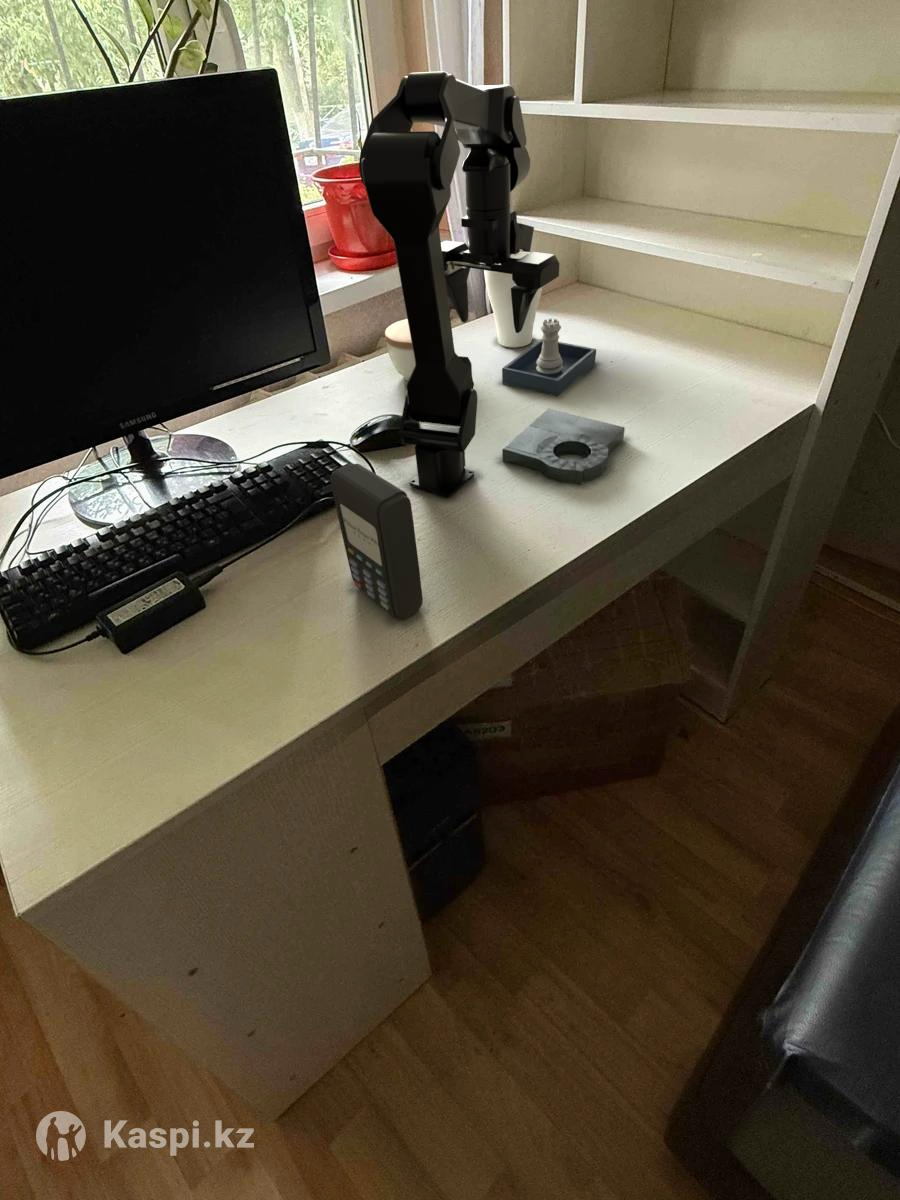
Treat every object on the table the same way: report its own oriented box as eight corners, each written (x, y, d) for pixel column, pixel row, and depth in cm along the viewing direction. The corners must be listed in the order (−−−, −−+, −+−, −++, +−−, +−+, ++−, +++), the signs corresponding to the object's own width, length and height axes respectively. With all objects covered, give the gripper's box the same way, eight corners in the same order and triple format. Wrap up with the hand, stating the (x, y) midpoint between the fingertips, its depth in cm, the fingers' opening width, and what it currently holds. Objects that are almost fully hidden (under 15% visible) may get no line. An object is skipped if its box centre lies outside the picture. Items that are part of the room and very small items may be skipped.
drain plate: (587, 490, 88) (588, 477, 86) (499, 464, 94) (499, 451, 92) (631, 442, 96) (633, 429, 94) (548, 420, 102) (548, 408, 100)
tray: (557, 396, 107) (558, 380, 105) (502, 383, 112) (501, 368, 110) (595, 364, 115) (596, 348, 113) (541, 353, 119) (542, 338, 118)
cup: (474, 342, 124) (470, 264, 115) (514, 325, 129) (513, 248, 120) (515, 358, 118) (515, 276, 109) (556, 339, 123) (559, 259, 114)
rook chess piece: (561, 376, 111) (564, 327, 105) (534, 376, 112) (535, 327, 106) (564, 364, 114) (566, 316, 108) (537, 364, 115) (538, 316, 109)
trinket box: (381, 386, 114) (373, 330, 107) (403, 359, 121) (396, 305, 115) (442, 391, 111) (437, 334, 105) (461, 363, 118) (457, 308, 112)
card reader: (347, 586, 77) (321, 472, 67) (376, 569, 79) (355, 456, 69) (397, 626, 72) (378, 509, 62) (427, 607, 74) (412, 491, 63)
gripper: (582, 196, 89) (575, 318, 99) (463, 186, 98) (468, 299, 108) (539, 218, 82) (536, 345, 93) (416, 205, 91) (427, 323, 102)
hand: (491, 326), depth 99 cm, fingers open, 9 cm apart
